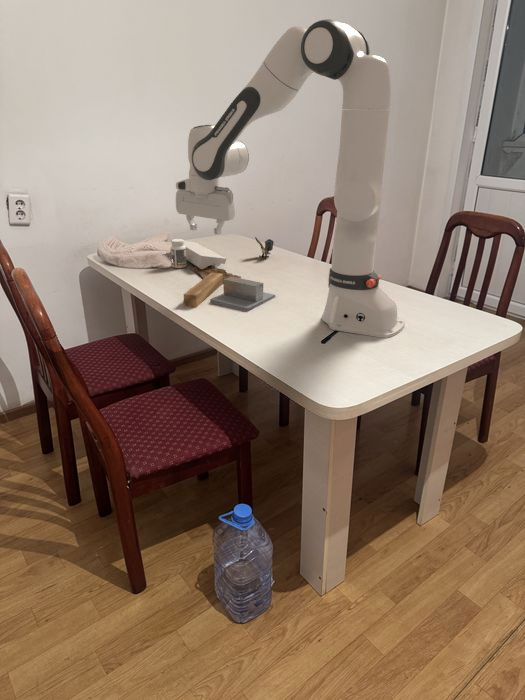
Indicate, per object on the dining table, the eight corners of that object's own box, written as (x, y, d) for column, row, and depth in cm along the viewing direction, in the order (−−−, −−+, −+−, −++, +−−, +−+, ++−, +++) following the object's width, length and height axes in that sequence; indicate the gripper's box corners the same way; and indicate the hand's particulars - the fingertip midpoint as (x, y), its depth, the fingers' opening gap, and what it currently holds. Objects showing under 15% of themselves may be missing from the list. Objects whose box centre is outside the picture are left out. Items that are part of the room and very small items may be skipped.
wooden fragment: (247, 280, 174) (247, 277, 174) (221, 289, 168) (221, 286, 168) (207, 264, 193) (206, 261, 192) (182, 271, 187) (181, 268, 186)
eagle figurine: (253, 261, 200) (253, 238, 196) (254, 256, 206) (255, 234, 202) (273, 261, 199) (273, 238, 196) (273, 257, 206) (274, 234, 202)
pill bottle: (188, 264, 194) (187, 238, 189) (184, 268, 188) (183, 242, 184) (174, 264, 194) (172, 238, 190) (169, 268, 189) (168, 241, 185)
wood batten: (222, 285, 172) (222, 273, 171) (196, 308, 151) (196, 295, 150) (211, 283, 173) (211, 272, 172) (184, 306, 152) (183, 294, 150)
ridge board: (275, 298, 159) (275, 279, 157) (248, 312, 148) (248, 291, 145) (238, 290, 166) (238, 271, 164) (210, 302, 155) (209, 283, 152)
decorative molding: (193, 253, 216) (171, 250, 212) (195, 242, 215) (172, 239, 210) (224, 271, 188) (199, 268, 184) (226, 258, 187) (201, 255, 182)
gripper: (239, 187, 147) (239, 234, 153) (185, 181, 157) (187, 226, 163) (226, 189, 142) (226, 238, 148) (171, 182, 152) (173, 229, 158)
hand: (205, 232), depth 156 cm, fingers open, 8 cm apart
